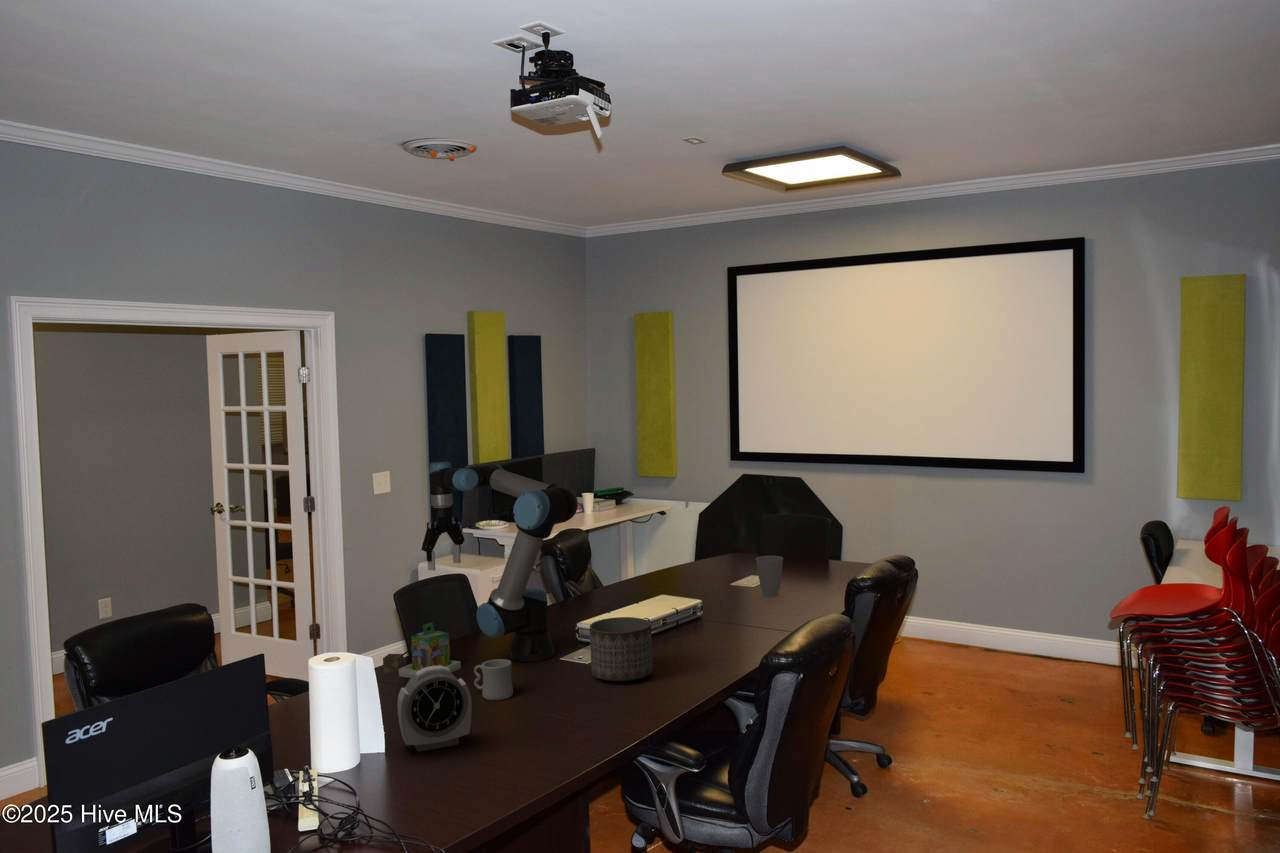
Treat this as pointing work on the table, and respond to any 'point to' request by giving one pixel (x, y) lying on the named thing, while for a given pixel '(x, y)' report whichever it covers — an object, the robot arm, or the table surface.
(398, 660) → the walnut block
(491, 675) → the mug
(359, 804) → the table surface
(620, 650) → the planter
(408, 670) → the tray
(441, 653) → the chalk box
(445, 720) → the alarm clock
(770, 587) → the cup
